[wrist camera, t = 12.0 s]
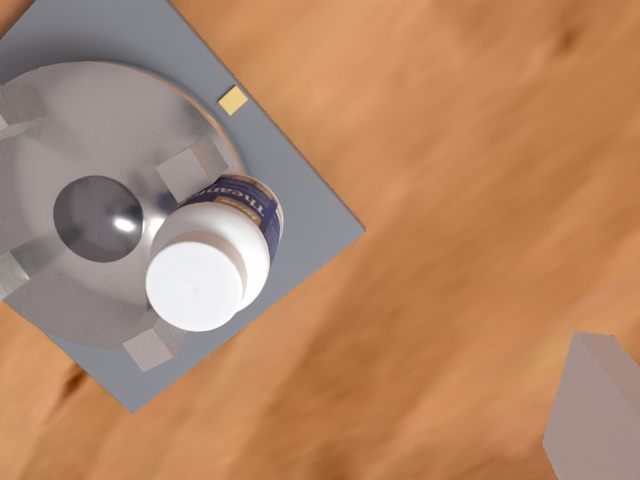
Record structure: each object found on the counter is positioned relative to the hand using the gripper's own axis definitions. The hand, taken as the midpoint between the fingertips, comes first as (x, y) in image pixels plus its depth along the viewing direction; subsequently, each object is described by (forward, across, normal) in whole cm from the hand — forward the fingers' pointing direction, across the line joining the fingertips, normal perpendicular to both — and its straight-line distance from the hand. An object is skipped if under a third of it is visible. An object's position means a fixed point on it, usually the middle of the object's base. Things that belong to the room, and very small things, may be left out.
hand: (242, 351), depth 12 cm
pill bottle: (+20, -4, -4) cm, 21 cm away
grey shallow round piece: (+22, -12, -5) cm, 26 cm away
